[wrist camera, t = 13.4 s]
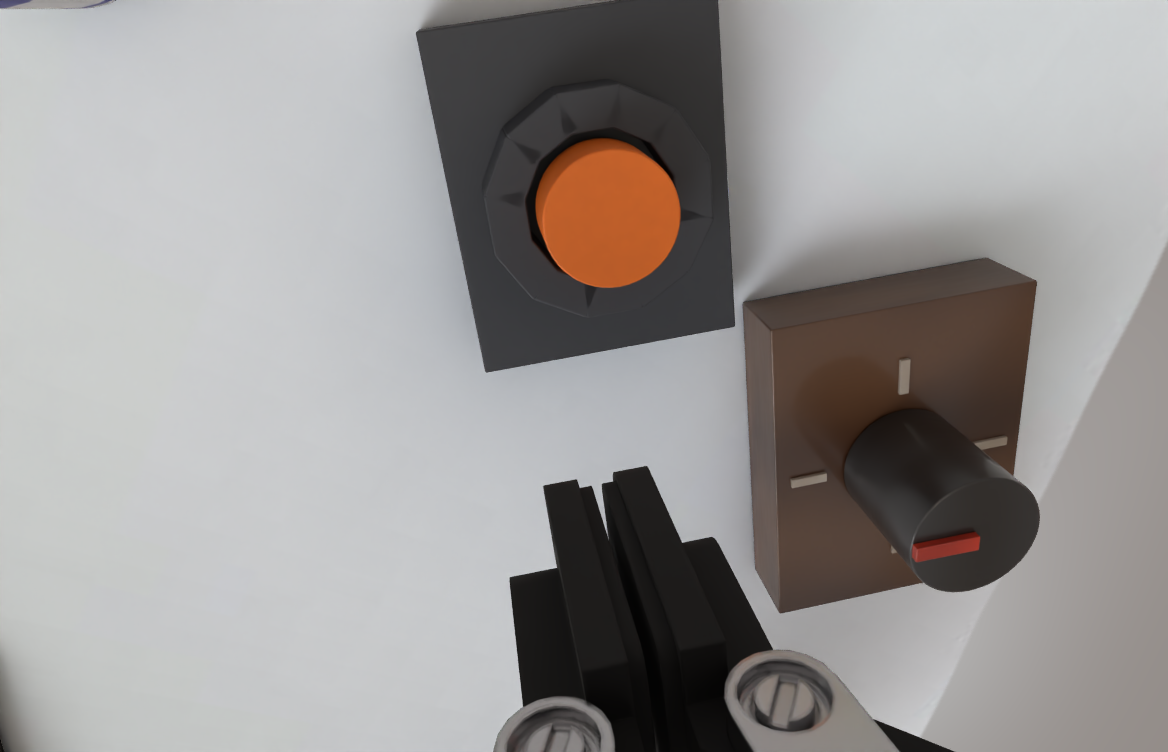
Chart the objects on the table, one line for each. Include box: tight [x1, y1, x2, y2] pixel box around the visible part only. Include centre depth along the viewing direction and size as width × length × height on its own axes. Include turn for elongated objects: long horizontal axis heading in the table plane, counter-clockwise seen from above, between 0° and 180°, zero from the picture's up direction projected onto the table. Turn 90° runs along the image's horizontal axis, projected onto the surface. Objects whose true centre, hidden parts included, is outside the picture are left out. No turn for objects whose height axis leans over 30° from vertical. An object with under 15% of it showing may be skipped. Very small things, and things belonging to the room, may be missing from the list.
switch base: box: [416, 0, 735, 372], centre depth 26 cm, size 11×9×4 cm
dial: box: [844, 409, 1040, 592], centre depth 29 cm, size 5×5×5 cm
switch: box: [535, 138, 681, 288], centre depth 24 cm, size 4×4×2 cm
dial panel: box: [743, 258, 1037, 613], centre depth 32 cm, size 13×10×3 cm
